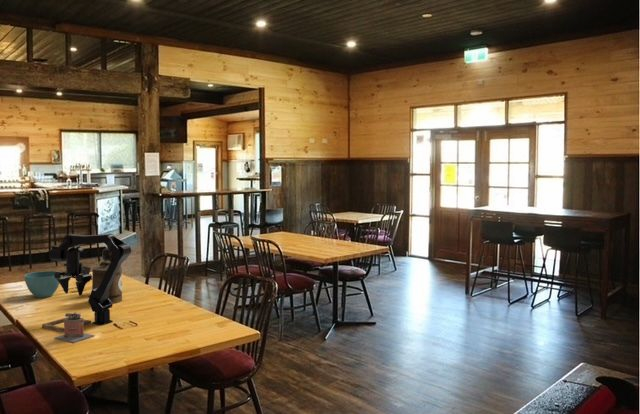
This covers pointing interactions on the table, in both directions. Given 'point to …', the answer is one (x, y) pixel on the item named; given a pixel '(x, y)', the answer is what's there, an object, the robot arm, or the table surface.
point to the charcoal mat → (74, 340)
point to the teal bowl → (42, 283)
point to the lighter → (73, 325)
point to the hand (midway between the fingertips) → (73, 294)
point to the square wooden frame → (56, 328)
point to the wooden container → (115, 287)
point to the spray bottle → (106, 256)
